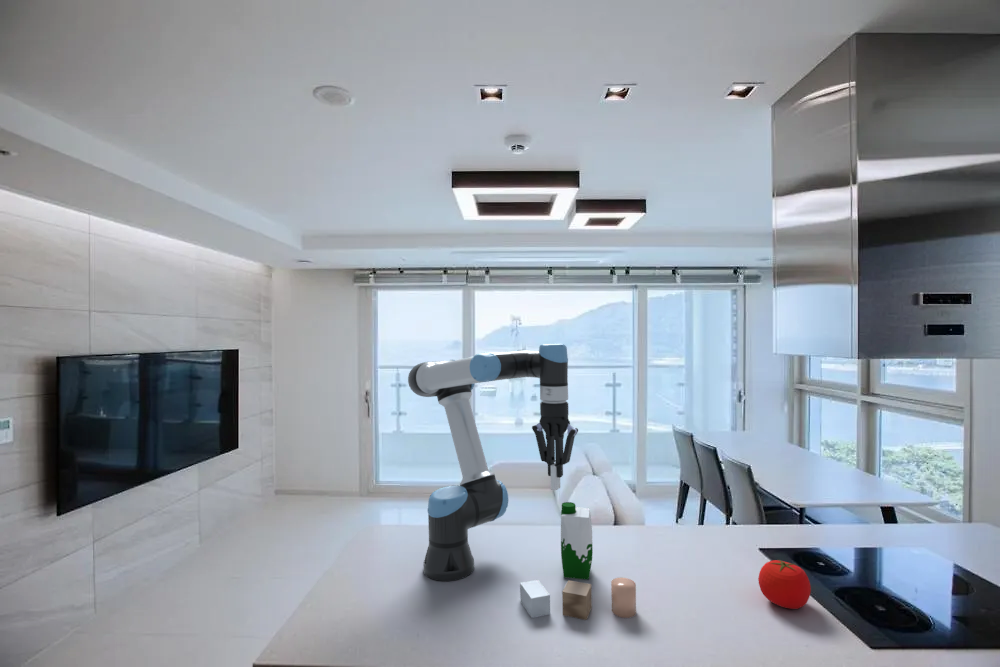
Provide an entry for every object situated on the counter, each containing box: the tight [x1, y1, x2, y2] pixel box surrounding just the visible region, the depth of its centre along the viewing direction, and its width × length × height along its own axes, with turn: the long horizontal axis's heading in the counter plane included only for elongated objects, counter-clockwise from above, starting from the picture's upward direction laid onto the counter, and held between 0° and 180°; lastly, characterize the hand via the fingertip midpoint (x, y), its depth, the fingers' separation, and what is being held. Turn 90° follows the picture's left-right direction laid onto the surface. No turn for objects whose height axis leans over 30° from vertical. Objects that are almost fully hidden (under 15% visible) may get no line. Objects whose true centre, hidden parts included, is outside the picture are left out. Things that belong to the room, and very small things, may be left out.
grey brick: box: [519, 579, 551, 619], centre depth 128 cm, size 8×5×5 cm, turn 18°
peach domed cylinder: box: [610, 577, 637, 619], centre depth 126 cm, size 6×6×7 cm
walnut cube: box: [561, 579, 593, 621], centre depth 126 cm, size 6×6×6 cm
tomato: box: [757, 559, 812, 610], centre depth 128 cm, size 11×12×10 cm
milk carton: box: [560, 501, 593, 581], centre depth 145 cm, size 9×9×20 cm
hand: (555, 488), depth 134 cm, fingers closed
